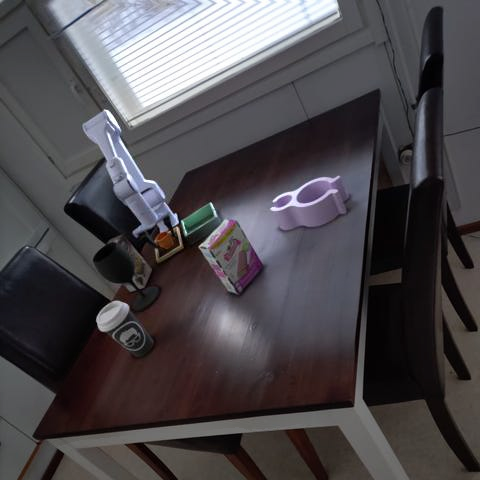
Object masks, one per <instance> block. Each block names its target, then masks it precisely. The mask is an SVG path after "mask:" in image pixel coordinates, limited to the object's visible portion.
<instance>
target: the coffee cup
mask: <svg viewBox="0 0 480 480" xmlns="http://www.w3.org/2000/svg"><path fill="white" fill-rule="evenodd" d="M95 322H96V323H97V327H98V330H99V331H100V332H102V333H103V332H104V333H105V334H107V335H108V336H109V337H111V338H112V339H113V340H115V342H116V343H118V344H119V345H120V346H122V347H123V348H124V349H125V350H127V351H128V352H129V353H130V354H132V355H133V356H135V357H136V358H141V357H144V356H146V355H147V354H148V353H149V352H150V351H151V350H152V348H153V346H154V339H153V338H152V337H151V336H150V334H149V332H147V330H146V329H145V327H143V325H142V324H141V323H140V321H139V320H138V319H137V317H136V316H135V315H134V314H133V312H132V311H131V310H130V306H129V304H127V303H125V302H123V301H121V300H113V301H111V302H109V303H107V305H105V306H104V307H102V308H101V310H100V311H99V313H98V314H97V316H96V320H95Z"/></svg>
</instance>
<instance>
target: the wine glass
mask: <svg viewBox="0 0 480 480" xmlns="http://www.w3.org/2000/svg"><path fill="white" fill-rule="evenodd" d="M92 263H93V265H94V267H95V269H96V271H97V272H98V273H99V275H100V276H101V277H102V278H103V279H104V280H106V281H108V282H109V283H112V284H117V285H121V284H123V285H124V283H129V284H131V285H132V286H133V287H134V288H135V289H136V290H135V291H137V293H138V294H137V295H136V296H135V298H134V299H133V301H132V303H131V308H132V310H133V311H136V312H141V311H143V310H146V309H147V308H149V307H150V306H151V305H153V303H155V301H156V300H157V299H158V297H159V295H160V288H159V287H158V286H156V285H152V286H149V287H145V288H143V290H141V289H139V288H138V287H137V286H136V284H135V283H134V281H133V276H134V272H135V264H134V260H133V258H132V256H131V255H130V254H129V252H128V251H127V250H126V249H125V248H123V247H122V246H121V245H119V244H118V243H116V242H111V243H109V244H107V243H106V244H105V245H103V246H102V247H101V248H100V249H98V250H97V252H96V253H95V254H94V255H93V257H92Z"/></svg>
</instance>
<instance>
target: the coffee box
mask: <svg viewBox="0 0 480 480" xmlns="http://www.w3.org/2000/svg"><path fill="white" fill-rule="evenodd" d="M111 242H116V243H118V244H119V245H121V246H122V247H123V248H125V249H126V250H127V251H128V252H129V254H130V255H131V256H132V258H133V260H134V264H135V272H134V276H133V281H134V283H135V284H136V286H137V287H138V288H139V289H140V290H141V289H145V288H146V285H147V283H148V281H149V278H150V277H151V274H152V272H153V269H152V268H151V266H150V265H149V264H148V263H147V261H146V260H145V259H144V258H143V256H141V254H140V253H139V252H138V251H137V249H136V248H135V247H134V246H133V244H132V243H131V242H130V240H128V238H127V237H126V235H124V234H120V235H117V236H116V237H115V236H114V237H113V238H111V239H109V240H108V241H107V243H106V245H107V244H109V243H111ZM123 286H125V287H126V289H127V290H128V291H129V292H130V293H132V292H134V291H135V292H136V291H137V290H136V289H135V288H134V287H133V286H132V285H131V284H129V283H124V284H123Z"/></svg>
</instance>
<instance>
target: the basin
mask: <svg viewBox="0 0 480 480" xmlns="http://www.w3.org/2000/svg"><path fill="white" fill-rule="evenodd" d="M221 223H222V221H221V218H220V215H219V214H218V211H217V209H216V207H215V206H214V204H213V203H212V202H209V203H207V204H205V205H204V206H202V207H201V208H199V209H198V210H196V211H195V212H193V213H192V214H189V215H188V216H187V217H185V218H184V219H182V220H180V224H181V228H182V231H183V235H184V238H185V240H186V241H187V242H188V243H189V245H190V246H191V245H193V244H194V243H196V242H197V241H199V240H201V239H203V238H204V237H205V236H207V235H208V234H209V235H210V234H211V233H213V232H214V231H215V230H216V229H217V227H218V226H219V225H220V224H221Z"/></svg>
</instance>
